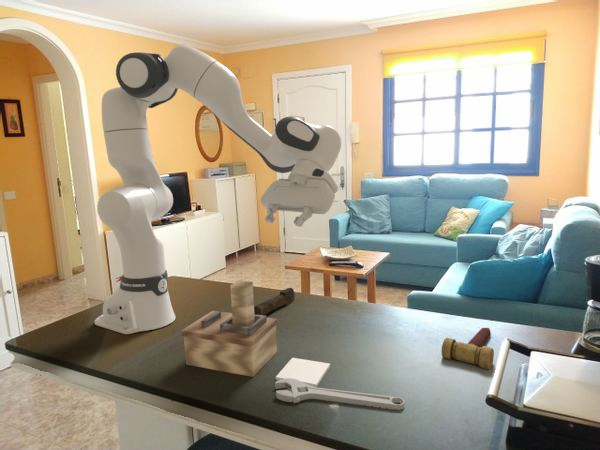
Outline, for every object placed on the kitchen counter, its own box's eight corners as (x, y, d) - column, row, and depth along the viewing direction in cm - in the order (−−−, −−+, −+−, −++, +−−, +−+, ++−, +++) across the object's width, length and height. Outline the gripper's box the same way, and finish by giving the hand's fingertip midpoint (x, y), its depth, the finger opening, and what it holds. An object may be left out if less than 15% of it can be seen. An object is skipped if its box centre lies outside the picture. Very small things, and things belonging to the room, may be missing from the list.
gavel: (468, 316, 115) (510, 324, 109) (467, 333, 115) (509, 342, 109) (441, 341, 98) (489, 352, 92) (440, 360, 98) (488, 373, 93)
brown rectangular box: (184, 365, 100) (180, 324, 98) (214, 341, 111) (212, 304, 109) (253, 377, 93) (251, 334, 91) (278, 351, 105) (277, 312, 103)
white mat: (275, 379, 92) (275, 376, 92) (292, 360, 100) (292, 357, 100) (316, 387, 89) (316, 384, 89) (330, 366, 97) (330, 363, 97)
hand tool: (259, 321, 124) (259, 305, 123) (249, 318, 126) (248, 302, 125) (301, 302, 139) (301, 287, 138) (291, 299, 141) (291, 285, 140)
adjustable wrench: (405, 405, 83) (405, 396, 82) (400, 426, 77) (400, 416, 76) (281, 383, 91) (280, 375, 91) (268, 400, 85) (268, 392, 85)
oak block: (232, 328, 98) (230, 285, 97) (240, 322, 102) (238, 280, 100) (247, 330, 97) (244, 286, 95) (254, 324, 100) (252, 281, 99)
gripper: (270, 171, 118) (245, 212, 112) (333, 171, 105) (308, 218, 99) (282, 186, 122) (258, 227, 116) (344, 188, 109) (321, 234, 103)
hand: (282, 223), depth 107 cm, fingers open, 8 cm apart
